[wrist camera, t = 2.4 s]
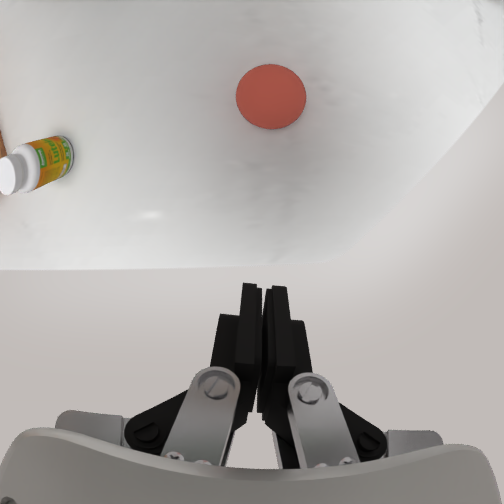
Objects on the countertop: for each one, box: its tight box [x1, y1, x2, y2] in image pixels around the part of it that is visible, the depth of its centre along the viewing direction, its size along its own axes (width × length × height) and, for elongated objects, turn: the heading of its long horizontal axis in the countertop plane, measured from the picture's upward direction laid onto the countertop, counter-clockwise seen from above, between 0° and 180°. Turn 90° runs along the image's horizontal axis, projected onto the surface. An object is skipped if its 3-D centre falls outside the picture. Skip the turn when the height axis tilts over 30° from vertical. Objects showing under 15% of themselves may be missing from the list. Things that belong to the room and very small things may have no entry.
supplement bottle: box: [0, 136, 73, 195], centre depth 21 cm, size 5×5×10 cm
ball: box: [236, 64, 306, 129], centre depth 21 cm, size 6×6×6 cm
